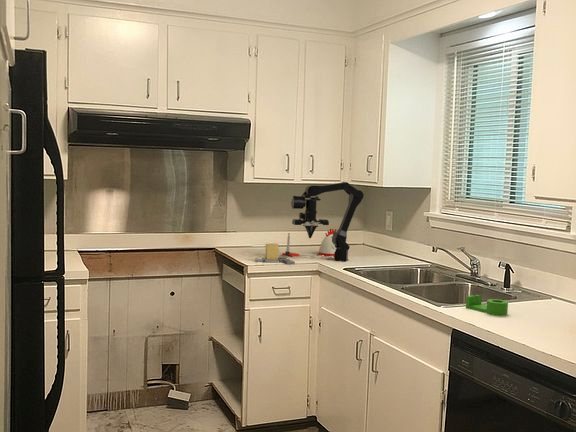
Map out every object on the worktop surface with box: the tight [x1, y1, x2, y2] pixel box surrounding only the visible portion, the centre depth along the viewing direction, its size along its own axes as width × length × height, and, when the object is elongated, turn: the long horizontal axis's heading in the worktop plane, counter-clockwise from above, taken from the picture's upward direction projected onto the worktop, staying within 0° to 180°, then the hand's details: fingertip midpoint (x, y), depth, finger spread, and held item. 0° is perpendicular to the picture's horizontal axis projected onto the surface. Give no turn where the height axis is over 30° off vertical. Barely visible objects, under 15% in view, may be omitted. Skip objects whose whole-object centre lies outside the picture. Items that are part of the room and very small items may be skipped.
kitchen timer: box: [318, 228, 337, 257], centre depth 360 cm, size 14×14×15 cm
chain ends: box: [254, 256, 296, 265], centre depth 327 cm, size 18×15×2 cm
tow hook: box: [281, 232, 300, 258], centre depth 354 cm, size 8×13×9 cm
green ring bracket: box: [465, 294, 509, 317], centre depth 229 cm, size 15×7×5 cm, turn 33°
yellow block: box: [264, 243, 280, 261], centre depth 330 cm, size 6×4×9 cm, turn 105°
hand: (309, 238), depth 335 cm, fingers closed
